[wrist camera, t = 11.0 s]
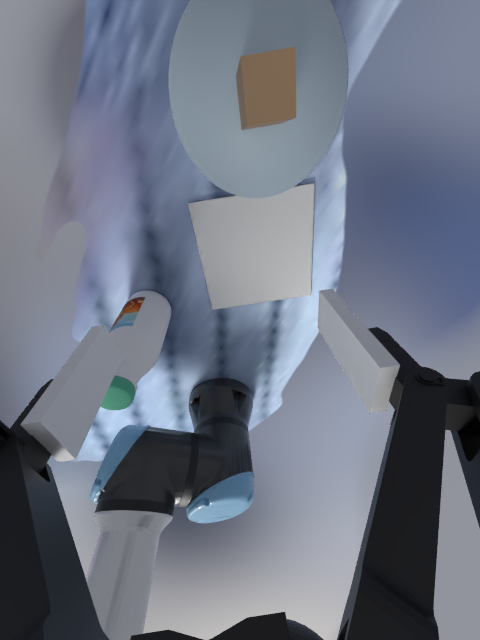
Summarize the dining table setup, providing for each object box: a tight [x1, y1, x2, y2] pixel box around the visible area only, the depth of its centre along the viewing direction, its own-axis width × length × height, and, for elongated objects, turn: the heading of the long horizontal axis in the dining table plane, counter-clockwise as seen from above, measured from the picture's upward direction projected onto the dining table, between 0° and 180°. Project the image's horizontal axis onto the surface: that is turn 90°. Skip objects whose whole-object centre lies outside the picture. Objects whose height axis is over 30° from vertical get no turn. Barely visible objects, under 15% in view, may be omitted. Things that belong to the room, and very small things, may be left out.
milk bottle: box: [100, 290, 171, 410], centre depth 37 cm, size 8×8×20 cm
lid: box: [168, 0, 348, 198], centre depth 22 cm, size 17×17×7 cm
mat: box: [188, 183, 314, 310], centre depth 41 cm, size 18×18×1 cm
